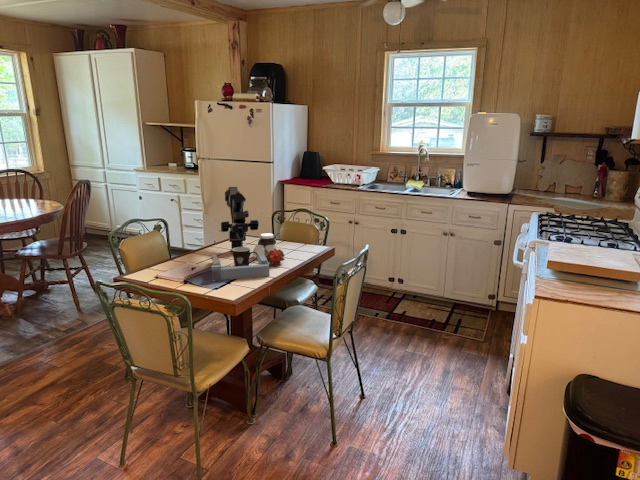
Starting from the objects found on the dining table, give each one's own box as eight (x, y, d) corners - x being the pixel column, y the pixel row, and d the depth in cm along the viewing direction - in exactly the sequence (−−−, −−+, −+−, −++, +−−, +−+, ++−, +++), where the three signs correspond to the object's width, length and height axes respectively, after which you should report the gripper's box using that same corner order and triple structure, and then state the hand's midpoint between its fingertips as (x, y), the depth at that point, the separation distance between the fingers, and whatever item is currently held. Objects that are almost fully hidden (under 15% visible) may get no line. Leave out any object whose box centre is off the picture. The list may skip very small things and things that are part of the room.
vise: (210, 271, 216) (210, 258, 214) (264, 267, 223) (264, 254, 221) (212, 281, 203) (211, 267, 201) (269, 276, 210) (269, 262, 208)
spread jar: (278, 253, 246) (277, 233, 243) (273, 259, 235) (273, 238, 232) (256, 253, 247) (255, 232, 244) (251, 259, 236) (250, 237, 233)
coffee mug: (229, 269, 218) (228, 250, 216) (240, 265, 226) (239, 245, 223) (248, 273, 213) (248, 253, 211) (259, 268, 221) (258, 248, 218)
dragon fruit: (283, 263, 233) (271, 273, 224) (271, 253, 235) (258, 262, 225) (290, 252, 229) (278, 262, 219) (278, 242, 230) (265, 251, 220)
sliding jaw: (211, 261, 231) (210, 249, 229) (218, 261, 231) (217, 249, 230) (214, 277, 207) (213, 263, 205) (221, 276, 208) (221, 263, 206)
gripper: (220, 206, 223) (222, 232, 215) (257, 204, 228) (261, 230, 220) (219, 218, 232) (222, 244, 224) (255, 216, 237) (259, 241, 229)
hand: (241, 240), depth 224 cm, fingers closed
